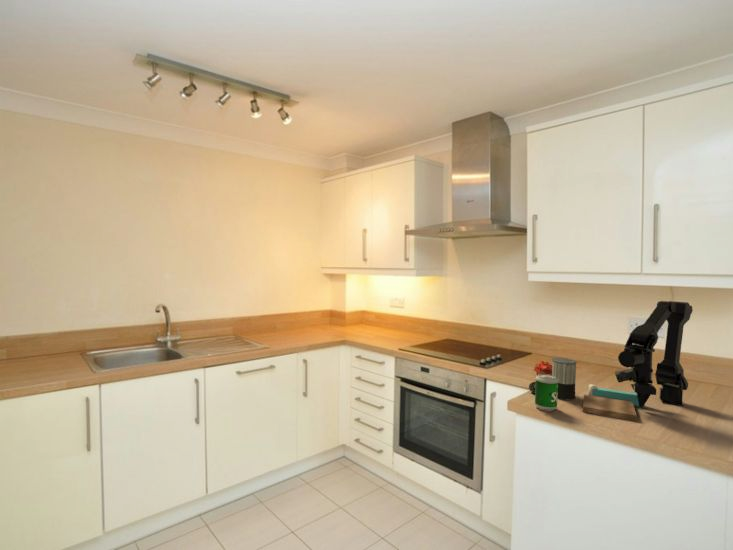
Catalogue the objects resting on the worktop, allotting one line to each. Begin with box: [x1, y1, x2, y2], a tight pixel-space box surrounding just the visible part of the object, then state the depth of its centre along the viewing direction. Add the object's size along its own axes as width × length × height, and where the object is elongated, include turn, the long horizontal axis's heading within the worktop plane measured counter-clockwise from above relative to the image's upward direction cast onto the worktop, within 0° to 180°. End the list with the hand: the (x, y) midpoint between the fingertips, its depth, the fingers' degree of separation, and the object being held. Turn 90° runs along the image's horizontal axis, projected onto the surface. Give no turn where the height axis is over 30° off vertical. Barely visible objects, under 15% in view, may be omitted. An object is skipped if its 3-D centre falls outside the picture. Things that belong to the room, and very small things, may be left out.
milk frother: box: [528, 357, 578, 400], centre depth 162 cm, size 14×16×15 cm
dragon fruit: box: [533, 360, 552, 377], centre depth 187 cm, size 8×8×12 cm
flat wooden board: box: [582, 394, 638, 422], centre depth 146 cm, size 16×16×2 cm
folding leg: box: [588, 384, 646, 408], centre depth 154 cm, size 18×3×5 cm, turn 61°
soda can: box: [534, 374, 558, 412], centre depth 146 cm, size 8×8×12 cm
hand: (641, 406), depth 146 cm, fingers closed
